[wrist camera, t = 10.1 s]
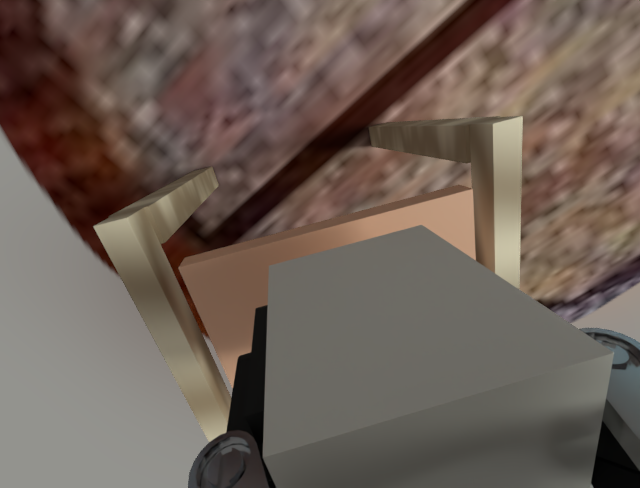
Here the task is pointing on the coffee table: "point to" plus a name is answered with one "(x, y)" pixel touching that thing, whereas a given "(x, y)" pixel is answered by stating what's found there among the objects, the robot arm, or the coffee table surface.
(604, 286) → the coffee table surface
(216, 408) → the trapdoor frame
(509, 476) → the smooth gray block
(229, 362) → the trapdoor
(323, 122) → the coffee table surface
